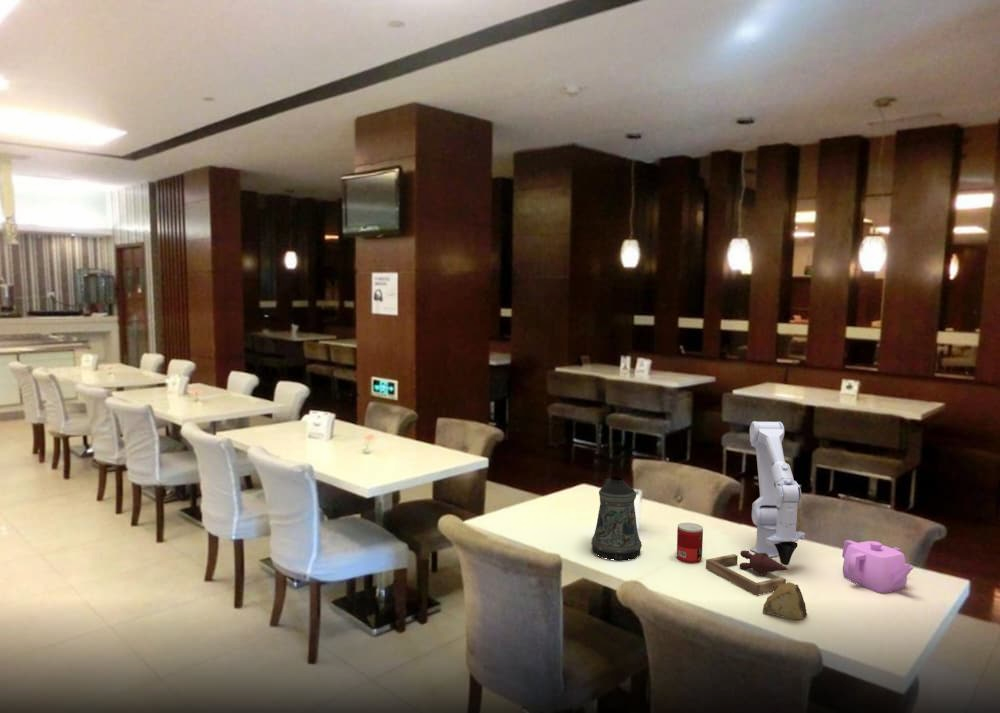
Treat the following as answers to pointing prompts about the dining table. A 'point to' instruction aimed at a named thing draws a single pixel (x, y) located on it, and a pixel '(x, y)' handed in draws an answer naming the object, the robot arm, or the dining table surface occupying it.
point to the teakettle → (875, 566)
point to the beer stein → (616, 522)
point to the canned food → (689, 542)
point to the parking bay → (721, 570)
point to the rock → (786, 602)
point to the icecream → (761, 563)
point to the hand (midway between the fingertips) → (784, 563)
